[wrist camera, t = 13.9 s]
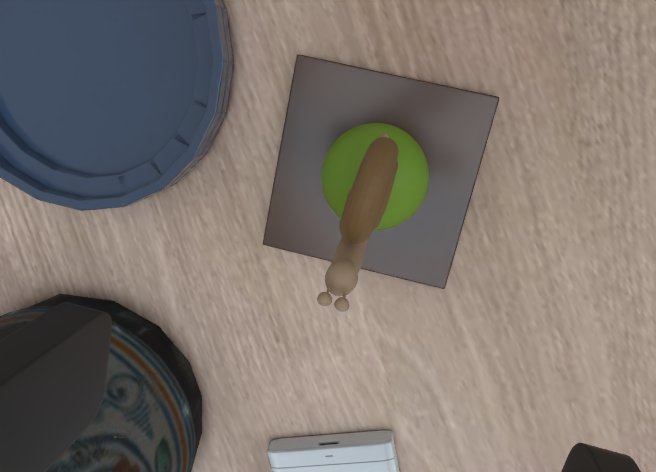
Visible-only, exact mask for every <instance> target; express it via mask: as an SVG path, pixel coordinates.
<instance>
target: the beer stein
mask: <svg viewBox="0 0 656 472" xmlns="http://www.w3.org/2000/svg"><path fill="white" fill-rule="evenodd" d="M63 302H70V303H73V304H77V305H81V306H85V307H88V308H92V309H96V310H99V311H103V312H106V313H108V314H109V315H110V316H111V320H112V332H111V341H110V350H109V359H108V368H107V377H106V386H105V393H104V397H103V401H102V404H101V406H100V409H99V411H98V413H97V415H96V417H95V418H94V420H93V422H92V423H91V424H90V426H89V427H88V428H87V429H86V430H85V431H84V432H83V433H82V434H81V435H80V436H79V438H78V439H77V440H76V441H75V442H74V443H73V444H72V445H71V446H70V447H69V448H68V449H67V450H66V451H65V452H64V453H63V454H62V455H61V456H60V457H59V458H58V460H57V461H56V462H55V463H54V464H53V465H52V466H51V467H50V468H49V469H48V470H47V471H46V472H191V470H192V466H193V463H194V459H195V455H196V452H197V448H198V445H199V441H200V438H201V434H202V396H201V393H200V390H199V388H198V385H197V382H196V379H195V377H194V374H193V371H192V368H191V366H190V363H189V361H188V360H187V359H186V358H185V357H184V356H183V354H182V353H181V352H180V351H179V350H178V349H177V347H176V346H175V345H174V344H173V343H172V341H171V340H170V339H169V338H168V337H167V336H166V334H165V333H164V332H163V331H162V330H161V329H160V327H159V326H157V325H155V324H153V323H152V322H150V321H148V320H146V319H145V318H143V317H141V316H139V315H138V314H136V313H134V312H132V311H130V310H129V309H127V308H125V307H123V306H122V305H120V304H118V303H116V302H115V301H110V300H102V299H95V298H87V297H79V296H72V295H64V294H59V295H56V296H54V297H52V298H49V299H47V300H45V301H42V302H40V303H38V304H35V305H33V306H31V307H28V308H25V309H20V310H17V311H13V312H9V313H6V314H4V315H2V316H0V328H2V327H6V326H9V325H13V324H16V323H19V322H23V321H28V322H31V321H32V320H34V319H36V318H37V317H39V316H41V315H42V314H44V313H46V312H47V311H49V310H51V309H52V308H54V307H55V306H57V305H59V304H61V303H63Z"/></svg>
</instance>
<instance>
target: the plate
mask: <svg viewBox="0 0 656 472" xmlns="http://www.w3.org/2000/svg"><path fill="white" fill-rule="evenodd" d="M232 70H233V55H232V48H231V41H230V34H229V27H228V20H227V13H226V11H225V7H224V4H223V2H222V0H0V178H2V179H4V180H5V181H7V182H9V183H10V184H12V185H14V186H16V187H17V188H19V189H21V190H22V191H24V192H26V193H27V194H29V195H31V196H32V197H34V198H36V199H38V200H41V201H45V202H49V203H53V204H57V205H61V206H65V207H69V208H73V209H77V210H81V211H83V210H95V209H107V208H119V207H125V206H128V205H130V204H133V203H135V202H138V201H140V200H142V199H145V198H147V197H149V196H151V195H153V194H155V193H158V192H160V191H162V190H164V189H166V188H168V187H171V186H173V185H174V184H176V183H177V182H178V181H179V180H180V179H181V178H182V177H183V176H184V175H185V174H186V173H187V172H188V171H189V170H190V169H191V168H192V167H193V166H194V165H195V164H196V163H197V162H198V161H199V160H200V159H201V158H202V157H203V156H204V155H205V154H206V152H207V150H208V148H209V146H210V144H211V142H212V140H213V138H214V136H215V134H216V132H217V130H218V128H219V126H220V124H221V122H222V120H223V118H224V116H225V114H226V110H227V103H228V97H229V90H230V83H231V77H232Z"/></svg>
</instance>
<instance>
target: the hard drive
mask: <svg viewBox="0 0 656 472" xmlns="http://www.w3.org/2000/svg"><path fill="white" fill-rule="evenodd" d="M267 453H268V458H269V462H270V465H271V469H272V472H400V471H399V466H398V460H397V455H396V450H395V445H394V439H393V434H392V431H387V430H381V431H369V432H355V433H345V434H332V435H319V436H307V437H293V438H281V439H276V440H272V441H271V442H270V445H269V447H268V450H267Z"/></svg>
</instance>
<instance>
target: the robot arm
mask: <svg viewBox="0 0 656 472" xmlns="http://www.w3.org/2000/svg"><path fill="white" fill-rule="evenodd" d="M111 332H112V320H111V316H110V315H109V314H108V313H106V312H103V311H99V310H96V309H92V308H88V307H85V306H81V305H77V304H73V303H70V302H63V303H61V304H59V305H57V306H55V307H54V308H52V309H51V310H49V311H47V312H46V313H44V314H42V315H41V316H39V317H37V318H36V319H34V320H32V321H31V322H28V321H23V322H19V323H16V324H13V325H9V326H6V327H2V328H0V472H46V471H47V470H48V469H49V468H50V467H51V466H52V465H53V464H54V463H55V462H56V461H57V460H58V458H59V457H60V456H61V455H62V454H63V453H64V452H65V451H66V450H67V449H68V448H69V447H70V446H71V445H72V444H73V443H74V442H75V441H76V440H77V439H78V438H79V436H80V435H81V434H82V433H83V432H84V431H85V430H86V429H87V428H88V427H89V426H90V424H91V423H92V422H93V420H94V418H95V417H96V415H97V413H98V411H99V409H100V406H101V404H102V401H103V397H104V393H105V386H106V377H107V368H108V359H109V350H110V341H111ZM562 472H641V471H640V469H639V468H638V466H637V464H636V463H635V461H634V460H633V459H632V458H631V457H630V456H628V455H624V454H620V453H617V452H613V451H609V450H606V449H602V448H598V447H595V446H591V445H587V444H584V443H578V444H576V445H575V446H574V447H573V448H572V449H571V451H570V453H569V455H568V457H567V460H566V462H565V465H564V467H563V469H562Z"/></svg>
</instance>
